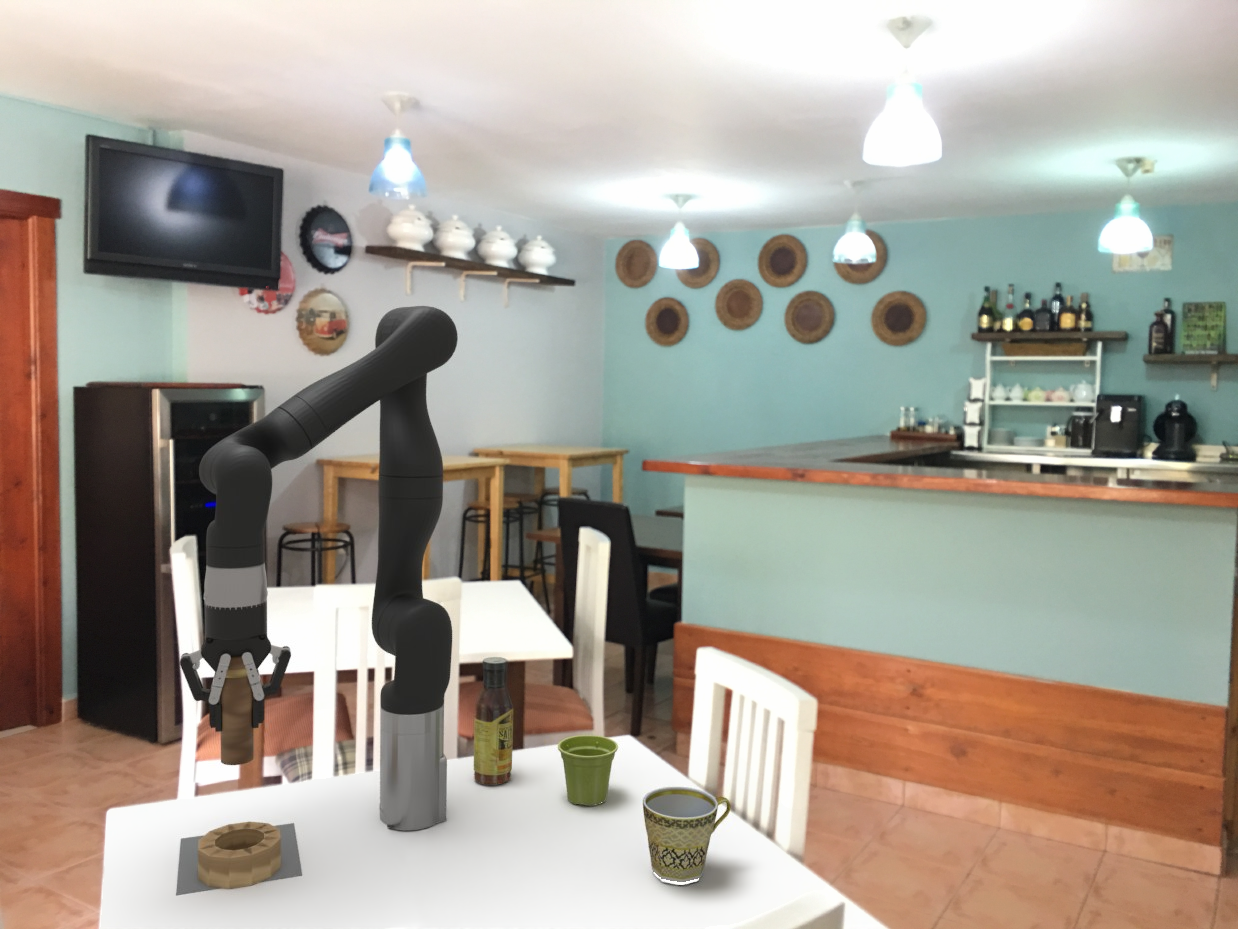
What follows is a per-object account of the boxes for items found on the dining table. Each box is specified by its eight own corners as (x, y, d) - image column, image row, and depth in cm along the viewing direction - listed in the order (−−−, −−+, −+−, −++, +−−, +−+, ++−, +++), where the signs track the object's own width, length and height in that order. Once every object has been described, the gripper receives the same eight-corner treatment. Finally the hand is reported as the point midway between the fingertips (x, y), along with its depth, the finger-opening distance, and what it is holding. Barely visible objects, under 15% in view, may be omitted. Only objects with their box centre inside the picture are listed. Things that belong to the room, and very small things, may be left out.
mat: (294, 826, 143) (293, 823, 143) (302, 879, 129) (302, 875, 129) (180, 842, 138) (180, 838, 138) (176, 899, 123) (175, 895, 123)
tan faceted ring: (278, 845, 136) (278, 817, 136) (282, 880, 127) (282, 850, 127) (199, 857, 133) (199, 828, 132) (197, 893, 123) (197, 863, 123)
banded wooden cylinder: (254, 751, 132) (253, 649, 131) (254, 763, 128) (254, 657, 127) (220, 755, 130) (219, 651, 129) (219, 767, 127) (218, 660, 125)
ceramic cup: (664, 899, 126) (666, 824, 125) (627, 864, 135) (629, 793, 134) (748, 878, 132) (751, 805, 131) (708, 846, 141) (710, 778, 140)
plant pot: (545, 795, 156) (546, 741, 156) (594, 782, 162) (595, 730, 161) (578, 817, 149) (579, 761, 148) (628, 802, 154) (630, 748, 154)
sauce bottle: (504, 789, 158) (506, 667, 156) (467, 785, 159) (469, 664, 158) (517, 773, 165) (519, 656, 163) (481, 769, 166) (483, 653, 164)
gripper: (292, 589, 134) (292, 713, 135) (177, 595, 128) (179, 724, 130) (295, 601, 127) (295, 732, 128) (173, 608, 121) (175, 744, 123)
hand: (236, 727), depth 129 cm, fingers closed on banded wooden cylinder, 4 cm apart
